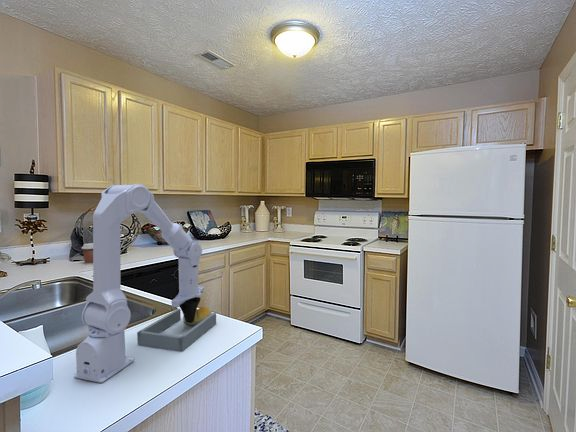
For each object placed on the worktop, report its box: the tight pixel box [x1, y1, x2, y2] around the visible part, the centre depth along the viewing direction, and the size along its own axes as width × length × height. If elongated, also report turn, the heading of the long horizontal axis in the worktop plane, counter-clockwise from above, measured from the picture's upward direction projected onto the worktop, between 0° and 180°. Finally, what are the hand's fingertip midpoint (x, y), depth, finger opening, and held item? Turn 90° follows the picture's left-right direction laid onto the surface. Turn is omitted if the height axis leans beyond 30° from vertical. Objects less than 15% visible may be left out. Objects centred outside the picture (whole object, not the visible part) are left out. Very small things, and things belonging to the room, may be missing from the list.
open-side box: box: [136, 308, 217, 352], centre depth 89 cm, size 18×14×4 cm
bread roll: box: [182, 306, 213, 326], centre depth 98 cm, size 8×9×4 cm
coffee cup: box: [81, 242, 93, 266], centre depth 184 cm, size 9×9×12 cm
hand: (189, 321), depth 94 cm, fingers closed
